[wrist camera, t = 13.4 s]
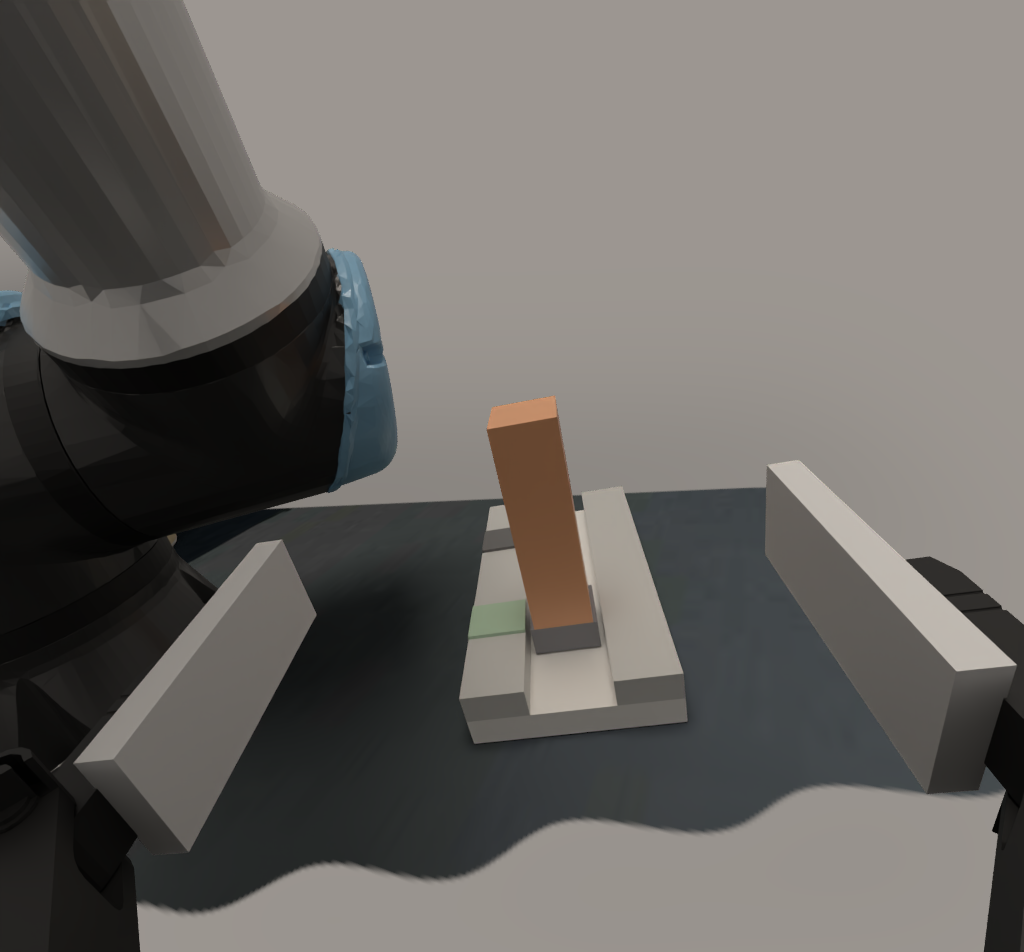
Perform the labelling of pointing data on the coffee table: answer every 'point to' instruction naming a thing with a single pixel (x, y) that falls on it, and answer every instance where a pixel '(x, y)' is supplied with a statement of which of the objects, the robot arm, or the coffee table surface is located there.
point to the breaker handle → (543, 524)
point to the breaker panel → (578, 672)
